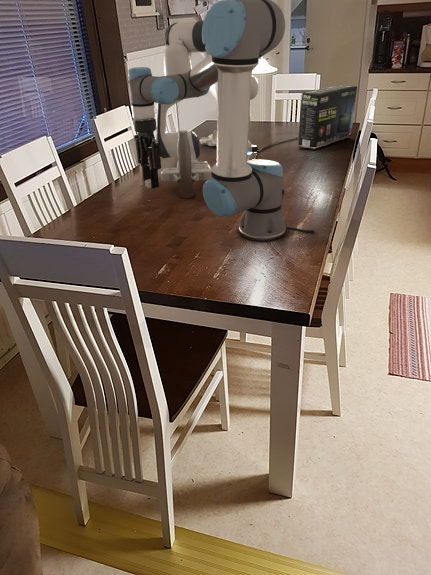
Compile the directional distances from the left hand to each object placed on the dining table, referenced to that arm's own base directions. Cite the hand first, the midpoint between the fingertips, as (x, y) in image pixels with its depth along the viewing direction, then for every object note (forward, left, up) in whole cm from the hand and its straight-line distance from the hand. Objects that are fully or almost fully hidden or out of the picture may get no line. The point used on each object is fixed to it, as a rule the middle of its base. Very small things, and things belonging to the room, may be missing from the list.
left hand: (186, 180), depth 178 cm
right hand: (+16, -6, +2) cm, 17 cm away
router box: (-97, +33, -7) cm, 103 cm away
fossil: (-79, -22, -7) cm, 83 cm away
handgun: (-22, +26, -7) cm, 35 cm away
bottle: (-1, 0, -7) cm, 7 cm away
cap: (+16, -6, +4) cm, 17 cm away
